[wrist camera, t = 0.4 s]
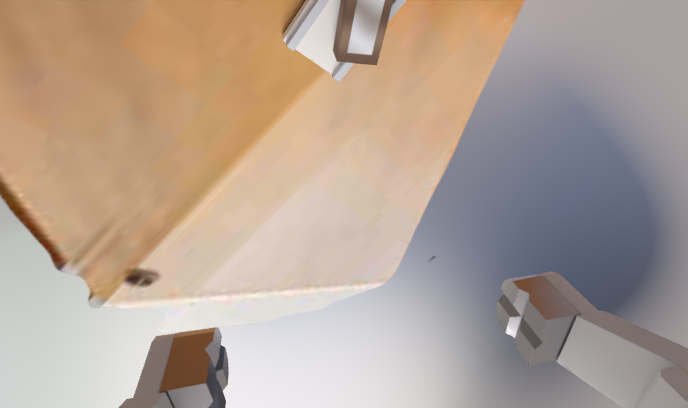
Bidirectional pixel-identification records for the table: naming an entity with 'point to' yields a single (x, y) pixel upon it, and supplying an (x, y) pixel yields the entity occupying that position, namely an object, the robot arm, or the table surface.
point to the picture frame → (361, 30)
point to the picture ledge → (321, 33)
